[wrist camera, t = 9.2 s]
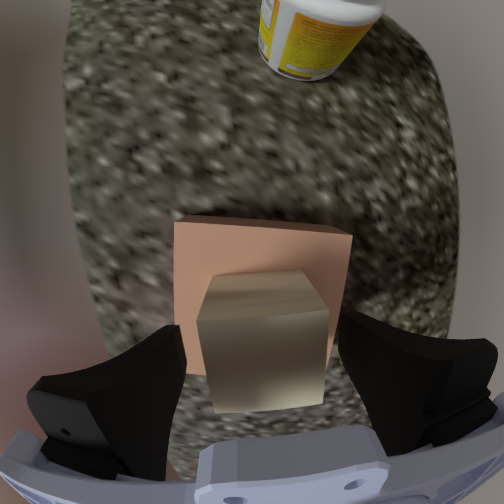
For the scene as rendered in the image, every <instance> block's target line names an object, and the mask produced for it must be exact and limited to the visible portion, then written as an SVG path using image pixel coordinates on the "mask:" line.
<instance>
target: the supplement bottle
mask: <svg viewBox="0 0 504 504" xmlns="http://www.w3.org/2000/svg"><path fill="white" fill-rule="evenodd" d="M386 2H387V1H386V0H262V7H261V17H260V27H259V39H258V46H259V50H260V53H261V56H262V57H263V59H264V60H265V62H266V63H267V64H268V65H269V66H270V67H271V68H272V69H273V70H275V71H276V72H278V73H279V74H281V75H283V76H285V77H288V78H291V79H295V80H300V81H314V80H319V79H322V78H325V77H327V76H329V75H330V74H332V73H333V72H334V71H335V70H336V69H337V68H338V67H339V65H340V64H341V63H342V62H343V60H344V59H345V58H346V57H347V56H348V54H349V53H350V52H351V51H352V49H353V48H354V47H355V46H356V45H357V43H358V42H359V41H360V40H361V39H362V38H363V36H364V35H365V34H366V33H367V32H368V30H369V29H370V28H371V27H372V26H373V25H374V23H375V22H376V21H377V20H378V19H379V18H380V16H381V15H382V14H383V12H384V10H385V8H386Z"/></svg>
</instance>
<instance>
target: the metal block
mask: <svg viewBox="0 0 504 504" xmlns="http://www.w3.org/2000/svg"><path fill="white" fill-rule="evenodd" d="M196 324H197V329H198V335H199V340H200V346H201V351H202V356H203V361H204V366H205V371H206V376H207V380H208V385H209V389H210V394H211V398H212V403H213V407H214V411H215V413H237V412H255V411H267V410H278V409H287V408H295V407H302V406H309V405H316V404H322V403H323V394H324V384H325V373H326V360H327V345H328V326H329V309H328V307H327V306H326V304H325V303H324V301H323V300H322V298H321V297H320V296H319V294H318V293H317V291H316V290H315V288H314V287H313V285H312V284H311V283H310V281H309V280H308V278H307V277H306V275H305V274H304V273H303V271H302V270H301V269H295V270H284V271H272V272H260V273H247V274H234V275H220V276H212V278H211V280H210V283H209V286H208V289H207V291H206V294H205V297H204V300H203V303H202V305H201V308H200V311H199V314H198V317H197V320H196Z"/></svg>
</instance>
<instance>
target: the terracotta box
mask: <svg viewBox="0 0 504 504" xmlns="http://www.w3.org/2000/svg"><path fill="white" fill-rule="evenodd" d="M352 237H353V235H351V234H349V233H347V232H344V231H342V230H340V229H338V228H335V227H333V226H329V225H319V224H308V223H297V222H285V221H273V220H261V219H247V218H233V217H218V216H201V215H188V216H186V217H183V218H181V219H179V220H177V221H175V224H174V314H175V325H180V330H181V335H182V340H183V344H184V349H185V354H186V358H187V368H186V373H189V374H198V375H206V371H205V366H204V361H203V356H202V351H201V346H200V340H199V335H198V329H197V324H196V320H197V317H198V314H199V311H200V308H201V305H202V303H203V300H204V297H205V294H206V291H207V289H208V286H209V283H210V280H211V278H212V276H220V275H234V274H247V273H260V272H272V271H284V270H295V269H301V270H302V271H303V273H304V274H305V275H306V277H307V278H308V280H309V281H310V283H311V284H312V285H313V287H314V288H315V290H316V291H317V293H318V294H319V296H320V297H321V298H322V300H323V301H324V303H325V304H326V306H327V307H328V309H329V326H328V345H327V360H326V368H327V364H328V360H329V356H330V352H331V348H332V344H333V340H334V336H335V331H336V327H337V322H338V318H339V313H340V308H341V303H342V298H343V293H344V288H345V282H346V276H347V270H348V264H349V258H350V251H351V244H352Z"/></svg>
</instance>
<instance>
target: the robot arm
mask: <svg viewBox="0 0 504 504" xmlns="http://www.w3.org/2000/svg"><path fill="white" fill-rule="evenodd" d="M338 351H339V354H340V357H341V360H342V363H343V365H344V367H345V369H346V371H347V373H348V375H349V377H350V379H351V380H352V382H353V384H354V386H355V388H356V390H357V391H358V393H359V395H360V397H361V399H362V401H363V403H364V405H365V407H366V410H367V413H368V415H369V418H370V421H371V424H372V427H373V430H372V429H369V428H367V427H365V426H363V425H355V426H340V427H335V428H330V429H325V430H319V431H313V432H307V433H300V434H292V435H284V436H274V437H262V438H246V439H234V440H228V441H222V442H216V443H214V444H212V445H211V446H209V447H207V448H206V449H204V450H202V451H201V452H200V456H199V463H198V471H197V478H196V479H192V480H179V481H165V476H166V462H167V452H168V444H169V436H170V430H171V424H172V420H173V416H174V412H175V409H176V406H177V403H178V400H179V397H180V393H181V390H182V387H183V384H184V380H185V375H186V368H187V358H186V354H185V349H184V344H183V340H182V335H181V330H180V325H166V326H164V327H162V328H161V329H159V330H158V331H156V332H155V333H153V334H152V335H150V336H149V337H147V338H146V339H145V340H143V341H142V342H140V343H139V344H137V345H135V346H134V347H132V348H131V349H129V350H127V351H126V352H124V353H122V354H120V355H118V356H117V357H114V358H112V359H110V360H108V361H106V362H103V363H101V364H98V365H95V366H92V367H90V368H87V369H83V370H79V371H75V372H71V373H65V374H59V375H51V376H42V377H41V378H40V380H38V382H37V383H36V384H35V385H34V386H33V387H32V388H31V390H30V391H29V392H28V393H27V403H28V406H29V409H30V411H31V412H32V414H33V416H34V417H35V419H36V420H37V422H38V423H39V425H40V426H41V428H42V429H43V431H44V432H45V434H46V435H47V436H48V438H47V440H46V441H45V442H44V441H42V440H41V439H40V438H38V437H37V436H34V435H32V434H29V433H28V432H25V431H23V430H19V431H18V432H17V434H16V435H15V437H14V438H13V439H12V441H11V442H10V443H9V445H8V446H7V448H6V449H5V451H4V452H3V454H2V455H1V456H0V475H1V476H2V477H3V478H4V479H5V480H6V481H7V482H8V483H9V484H10V485H11V486H12V487H13V488H14V489H15V490H16V491H17V492H18V493H19V494H21V495H22V496H23V497H24V498H25V499H26V500H27V501H29V502H30V503H31V504H456V503H457V502H459V501H460V500H462V499H463V498H465V497H466V496H468V495H469V494H470V493H472V492H473V491H475V490H476V489H477V488H478V487H480V486H481V485H483V484H484V483H485V482H486V481H488V480H489V479H490V478H491V477H493V476H494V475H495V474H496V473H498V472H499V471H500V470H501V469H502V468H504V392H502V393H501V394H499V395H498V396H497V397H496V398H495V399H494V400H493V402H492V401H491V400H490V399H489V398H488V397H489V396H490V394H491V392H490V390H488V388H487V385H488V383H489V381H490V378H491V376H492V374H493V371H494V369H495V366H496V363H497V358H498V351H497V348H496V346H495V345H494V344H492V343H491V342H490V341H488V340H487V339H485V338H482V339H466V340H458V339H442V338H435V337H428V336H423V335H419V334H415V333H411V332H408V331H404V330H402V329H399V328H396V327H393V326H391V325H388V324H386V323H383V322H381V321H379V320H376V319H374V318H372V317H370V316H367V315H365V314H363V313H360V312H358V311H355V310H351V311H343V312H341V317H340V331H339V343H338Z"/></svg>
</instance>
